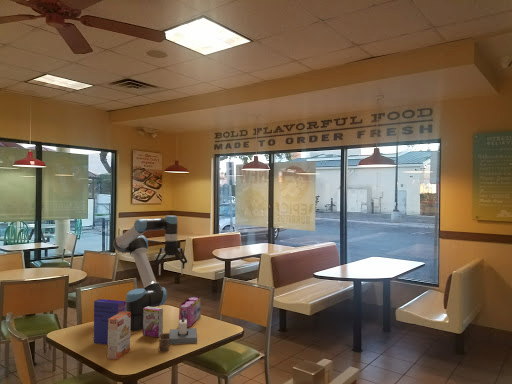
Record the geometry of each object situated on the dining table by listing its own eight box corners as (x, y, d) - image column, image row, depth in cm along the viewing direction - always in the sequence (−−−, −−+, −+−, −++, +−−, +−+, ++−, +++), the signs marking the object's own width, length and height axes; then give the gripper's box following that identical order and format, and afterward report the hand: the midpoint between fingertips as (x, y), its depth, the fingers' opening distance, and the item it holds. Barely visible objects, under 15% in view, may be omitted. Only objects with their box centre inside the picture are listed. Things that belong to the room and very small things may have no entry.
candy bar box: (142, 335, 235) (142, 308, 235) (147, 332, 240) (147, 305, 240) (158, 337, 231) (158, 310, 231) (163, 335, 236) (163, 307, 236)
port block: (168, 344, 222) (168, 339, 222) (169, 334, 237) (169, 329, 237) (197, 342, 224) (197, 337, 224) (196, 332, 240) (196, 328, 240)
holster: (159, 351, 212) (159, 340, 212) (160, 344, 222) (160, 333, 222) (168, 350, 213) (168, 339, 213) (169, 343, 223) (169, 333, 223)
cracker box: (117, 360, 200) (118, 319, 200) (106, 359, 201) (107, 318, 201) (131, 349, 214) (131, 311, 214) (120, 348, 215) (121, 310, 215)
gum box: (189, 327, 250) (189, 306, 250) (177, 326, 251) (177, 305, 251) (200, 316, 273) (200, 296, 273) (189, 315, 275) (190, 296, 275)
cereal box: (125, 343, 223) (126, 301, 223) (120, 346, 218) (121, 303, 218) (99, 340, 227) (99, 298, 227) (93, 343, 223) (94, 300, 223)
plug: (178, 340, 227) (179, 321, 227) (179, 336, 234) (179, 318, 234) (186, 340, 228) (186, 321, 228) (186, 336, 234) (186, 317, 234)
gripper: (150, 241, 240) (149, 276, 239) (191, 240, 244) (191, 274, 244) (151, 239, 247) (150, 273, 247) (191, 239, 251) (190, 272, 251)
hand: (170, 274), depth 245 cm, fingers open, 13 cm apart
